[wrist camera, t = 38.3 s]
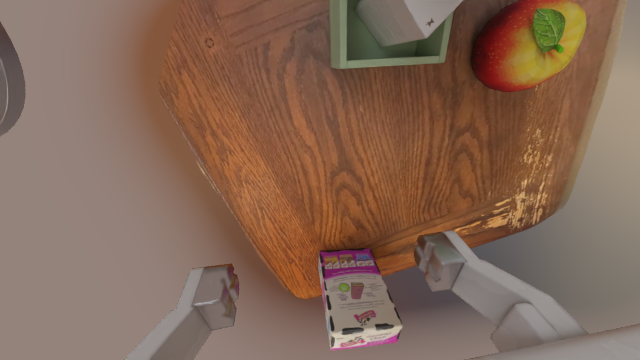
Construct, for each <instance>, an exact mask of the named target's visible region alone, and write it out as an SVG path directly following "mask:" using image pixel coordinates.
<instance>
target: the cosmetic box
mask: <svg viewBox="0 0 640 360" xmlns="http://www.w3.org/2000/svg"><path fill="white" fill-rule="evenodd" d="M462 1H463V0H361V1H360V2H359V3H358V4H357V5H356V6H355V8H354V11H355V12H356V14H357V15H358V16H359V18H360V19H361V20H362V22H363V23H364V25H365V26H366V27H367V29H368V30H369V31H370V33H371V34H372V35H373V37H374V38H375V39H376V41H377V42H378V44H379V45H380V46H381V47H385V46H390V45H395V44H400V43H405V42H410V41H415V40H420V39H425V38H428V37H429V36H430V35H431V34H432V32H433V31H434V30H435V29H436V28H437V27H438V26H439V25H440V24H441V23H442V22H443V21H444V20H445V19H446V18H447V17H448V16H449V15H450V14H451V13H452V12H453V11H454V10H455V9H456V8H457V6H458V5H459V4H460V3H461V2H462Z"/></svg>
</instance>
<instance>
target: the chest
mask: <svg viewBox="0 0 640 360" xmlns="http://www.w3.org/2000/svg"><path fill="white" fill-rule="evenodd" d="M360 1H361V0H329V6H330V46H331V68H338V69H346V68H347V69H348V68H365V67H382V66H399V65H416V64H432V63H444V62H445V57H446V52H447V46H448V40H449V35H450V29H451V23H452V18H453V12H454V11H453V12H452V13H451V14H450V15H449V16H448V17H447V18H446V19H445V20H444V21H443V22H442V23H441V24H440V25H439V26H438V27H437V28H436V29H435V30H434V31H433V32H432V34H431V35H430V36H429V37H428V38H425V39H420V40H415V41H410V42H405V43H400V44H395V45H390V46H385V47H381V46H380V45H379V44H378V42H377V41H376V39H375V38H374V37H373V35H372V34H371V33H370V31H369V30H368V29H367V27H366V26H365V25H364V23H363V22H362V20H361V19H360V18H359V16H358V15H357V14H356V12H355V11H354V8H355V6H356V5H357V4H358V3H359V2H360Z"/></svg>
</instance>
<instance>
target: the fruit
mask: <svg viewBox="0 0 640 360" xmlns="http://www.w3.org/2000/svg"><path fill="white" fill-rule="evenodd" d="M586 25H587V23H586V15H585V11H584V10H583V9H582V8H581V7H580V6H579V5H578V4H577V3H575V2H574V1H570V0H519V1H517V2H515V3H513V4H511V5H509V6H507V7H505V8H504V9H502V10H501V11H500V12H499V13H498V14H497V15H495V16H494V17H493V18H492V19H491V20H490V21H489V22H488V23H487V24H486V26H485V27H484V28H483V30H482V31H481V33H480V34H479V36H478V38H477V40H476V42H475V45H474V47H473V53H472V66H473V70H474V72H475V74H476V76H477V78H478V79H479V81H481V82H482V83H483V84H484V85H485V86H487V87H488V88H491V89H495V90H499V91H503V92H512V91H520V90H526V89H529V88H532V87H534V86H536V85H538V84H541V83H543V82H545V81H547V80H548V79H550V78H551V77H553V76H554V75H555V74H557V73H558V72H560V71H561V70H562V69H564V68H565V67H566V66H567V65H568V63H569V62H570V61H571V60H572V58H573V56H574V55H575V53H576V51H577V49H578V47H579V45H580V42H581V40H582V38H583V35H584V32H585V29H586Z"/></svg>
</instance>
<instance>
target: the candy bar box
mask: <svg viewBox="0 0 640 360" xmlns="http://www.w3.org/2000/svg"><path fill="white" fill-rule="evenodd" d="M318 269H319V276H320V283H321V289H322V296H323V303H324V309H325V316H326V322H327V330H328V337H329V344H330V349H331V351H332V350H339V349H349V348H357V347H365V346H373V345H381V344H389V343H397V342H398V339H399V335H400V332H401V330H402V327H403V324H402V322H401V319H400V317H399V315H398V312H397V310H396V308H395V306H394V303H393V301H392V299H391V296H390V294H389V292H388V289H387V287H386V285H385V282H384V280H383V277H382V275H381V273H380V271H379V268H378V266H377V264H376V261H375V259H374V257H373V254H372V252H371V250H370V249H353V250H339V251H325V252H319V266H318Z"/></svg>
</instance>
